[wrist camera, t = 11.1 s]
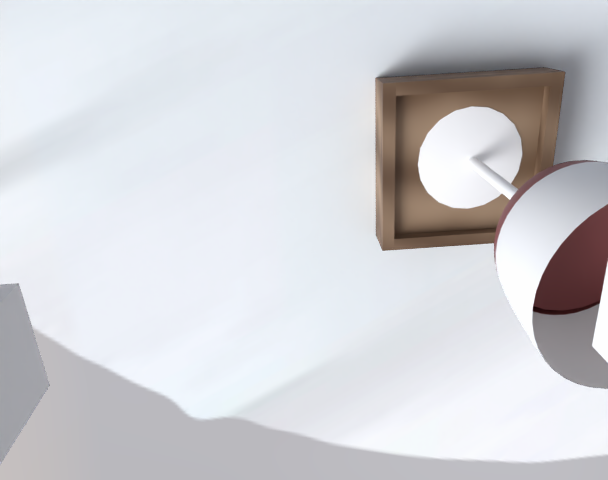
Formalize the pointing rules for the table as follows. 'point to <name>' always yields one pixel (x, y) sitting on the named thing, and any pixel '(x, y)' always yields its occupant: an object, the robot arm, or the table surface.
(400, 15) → the table surface
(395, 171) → the tray
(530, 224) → the wineglass
